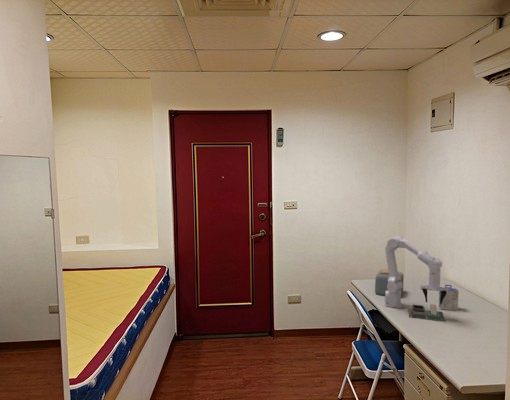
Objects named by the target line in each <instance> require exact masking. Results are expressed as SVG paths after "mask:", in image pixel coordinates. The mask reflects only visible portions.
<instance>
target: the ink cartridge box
mask: <svg viewBox="0 0 510 400" xmlns="http://www.w3.org/2000/svg"><path fill="white" fill-rule="evenodd" d="M444 286H445V287H444V288H448V292H446V296H445V297H444V299H443V301H442V304H440V296H441V292H440V291H438V308H439V309H440V310H446V311H447V310H448V311H458V310H459V290H458V289H457V288H456V287H455V288H453V287H452V284H444Z"/></svg>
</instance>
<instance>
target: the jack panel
mask: <svg viewBox="0 0 510 400" xmlns="http://www.w3.org/2000/svg"><path fill="white" fill-rule="evenodd" d="M407 313H408V314H409V315H408V318H410V317H412V318H413V319H418V318H419V319H420V320H426V319H427V321H428V320H429V321H436V322H443V323H445V322H446V319H445V317H444V314H443V312H442V311H438V310H437V315H430V309H429V310H428V309H427V310H426V309H425V307H424V305H420V304H419V305H418V304H412V305H411V308H409V307H407ZM419 319H418V320H419Z"/></svg>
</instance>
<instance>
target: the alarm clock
mask: <svg viewBox="0 0 510 400" xmlns="http://www.w3.org/2000/svg"><path fill="white" fill-rule="evenodd" d="M398 276H399V277H400V279H401V282H402V283H403V284H404V278H405V276H404V273H403V272H401V271H398ZM388 279H389V272H388V269H380V270H379V271H378V273H377V274H376V276H375V281H374V282H375V284H374V287H375V288H374V293H375V294H376V295H380V296H385V293H386V291H389V290H388V289H387V285H388ZM403 292H404V286H403V287H402V289H401V294H403Z"/></svg>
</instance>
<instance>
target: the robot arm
mask: <svg viewBox="0 0 510 400" xmlns="http://www.w3.org/2000/svg"><path fill="white" fill-rule="evenodd" d="M401 248H402V249H406V250H408V251H409V252H410V253H412V254H414V255H415V256H416V257H417V259H418V260H419V261H421V262H422V263H424V264H425V265H426V266H427V267H428V269H429V272H428V273H429V274H428V275H429V276H428V285H420V286H419V287H420V288H419V289H420V290H421V291H422V293H423V295H424V299H425V303H428V291H435V292H439V291H440V292H441V296H440V304H442V301H443V299H444V297H445V296H446V292H448V288H445V287H443V286H441V268H442V266H443V262H442V260H440V258H436V257H435V256H432V255H431V254H430V253H428V251H427V250H420V249H419V248H417V247H416V246H415V245H413V244H412V242H410V241H408V240H407V238H405V237H403V236H402V235H397V236H394V237H390V238H389V239H388V240H387V241H386V246H385V248H384V249H385V255H386V256H385V257H386V258H385V259H386V263H387V265H386V266H387V270H388V272H389V279H388V285H387V289H388V290H389V291H386V293H385V299H384V305H385V307H389V308H399V309H402V299H401V298H402V293H401V289H402V287H403V288H404V282H403V283H402V282H401V279H400V277H399V276H398V272H399V271H398V265H397V260H396V259H397V258H396V254H395V252H396V251H397V249H401Z"/></svg>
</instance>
